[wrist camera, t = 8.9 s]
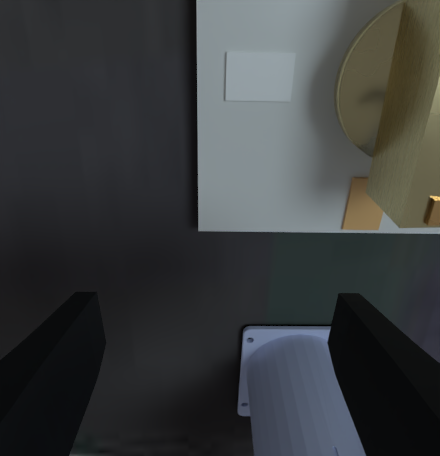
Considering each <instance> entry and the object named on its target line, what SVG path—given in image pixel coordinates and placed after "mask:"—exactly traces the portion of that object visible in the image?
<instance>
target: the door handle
mask: <svg viewBox="0 0 440 456" xmlns="http://www.w3.org/2000/svg"><path fill="white" fill-rule="evenodd" d="M334 107H335V112H336V116H337V119H338V122H339V125H340V127H341V129H342V131H343V132H344V134H345V135H346V137H347V138H348V139H349V140H350V141H351V142H352V143H353V144H354V145H355V146H356V147H357V148H359V149H360V150H361V151H363V152H364V153H365V154H367V155H368V156H370V157H372V162H371V167H370V172H369V177H368V182H367V187H366V192H365V193H366V194H367V195H368V196H369V197H370V198H371V199H372V200H373V201H374V202H375V203H376V204H377V205H378V206H379V207H380V208H381V209H382V210H383V211H384V212H385V214H386V215H387V216H388V217H389V218H390V219H391V220H392V221H393V222H394V223H395V224H396V225H397V226H398V227H399V228H440V0H399V1H397V2H395V3H393V4H391V5H390V6H388V7H386V8H385V9H383V10H382V11H380V12H379V13H377V14H376V15H375V16H374V17H373V18H372V19H370V20H369V21H368V22H367V23H366V24H365V25H364V26H363V28H362V29H361V30H360V31H359V32H358V33H357V35H356V36H355V37H354V39H353V40H352V41H351V43H350V45H349V46H348V48H347V50H346V52H345V54H344V56H343V58H342V60H341V63H340V65H339V69H338V72H337V75H336V80H335V86H334Z"/></svg>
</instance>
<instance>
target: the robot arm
mask: <svg viewBox="0 0 440 456" xmlns="http://www.w3.org/2000/svg"><path fill="white" fill-rule="evenodd" d="M248 338H251V339H248ZM105 345H106V339H105V334H104V329H103V323H102V318H101V312H100V307H99V302H98V296H97V292H75V293H74V294H73V295H72V296H71V297H70V298H69V299H68V300H67V301H66V302H65V303H63V304H62V305H61V306H60V307H59V308H58V309H57V310H56V311H55V312H54V313H53V314H52V315H51V316H50V317H49V318H48V319H46V320H45V321H44V322H43V323H42V324H41V325H40V326H39V327H38V328H37V329H36V330H35V331H33V332H32V333H31V334H30V335H29V336H28V337H27V338H26V339H25V340H23V341H22V342H21V343H20V344H19V345H18V346H17V347H16V348H14V349H13V350H12V351H11V352H10V353H8V354H7V355H6V356H5V357H4V358H2V359H1V360H0V456H69V454H70V451H71V449H72V446H73V443H74V440H75V438H76V435H77V432H78V430H79V427H80V424H81V421H82V419H83V416H84V413H85V411H86V408H87V405H88V403H89V400H90V397H91V394H92V392H93V389H94V386H95V383H96V380H97V378H98V375H99V371H100V366H101V362H102V358H103V354H104V349H105ZM237 409H238V414H239V415H241V416H250V417H251V428H252V438H253V448H254V456H440V363H439V362H437V361H436V360H435V359H433V358H432V357H431V356H430V355H429V354H427V353H426V352H425V351H424V350H423V349H421V348H420V347H419V346H418V345H417V344H415V343H414V342H413V341H412V340H411V339H410V338H408V337H407V336H406V335H405V334H404V333H403V332H402V331H400V330H399V329H398V328H397V327H396V326H395V325H394V324H393V323H392V322H390V321H389V320H388V319H387V318H386V317H385V316H384V315H383V314H382V313H380V312H379V311H378V310H377V309H376V308H375V307H374V306H373V305H372V304H371V303H369V302H368V301H367V300H366V299H365V298H364V297H363V296H361V295H360V294H359V293H339V294H338V299H337V303H336V307H335V312H334V316H333V320H332V325H331V326H248V327H246V328H244V330H243V338H242V352H241V366H240V380H239V394H238V408H237Z"/></svg>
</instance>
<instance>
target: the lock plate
mask: <svg viewBox="0 0 440 456" xmlns="http://www.w3.org/2000/svg"><path fill="white" fill-rule="evenodd" d="M397 1H399V0H196V5H197V121H198V231H236V232H329V233H423V234H440V228H399V227H398V226H397V225H396V224H395V223H394V222H393V221H392V220H391V219H390V218H389V217H388V216H387V215H386V214H385V212H384V211H383V210H382V209H381V208H380V207H379V206H378V205H377V204H376V203H375V202H374V201H373V200H372V199H371V198H370V197H369V196H368V195H367V194H366V193H365V192H366V187H367V182H368V177H369V172H370V167H371V162H372V157H370V156H368V155H367V154H365V153H364V152H363V151H361V150H360V149H359V148H357V147H356V146H355V145H354V144H353V143H352V142H351V141H350V140H349V139H348V138H347V137H346V135H345V134H344V132H343V131H342V129H341V127H340V125H339V122H338V119H337V116H336V112H335V107H334V86H335V80H336V75H337V72H338V69H339V65H340V63H341V60H342V58H343V56H344V54H345V52H346V50H347V48H348V46H349V45H350V43H351V41H352V40H353V39H354V37H355V36H356V35H357V33H358V32H359V31H360V30H361V29H362V28H363V26H364V25H365V24H366V23H367V22H368V21H369V20H370V19H372V18H373V17H374V16H375V15H376V14H377V13H379V12H380V11H382V10H383V9H385V8H386V7H388V6H390V5H391V4H393V3H395V2H397Z"/></svg>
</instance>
